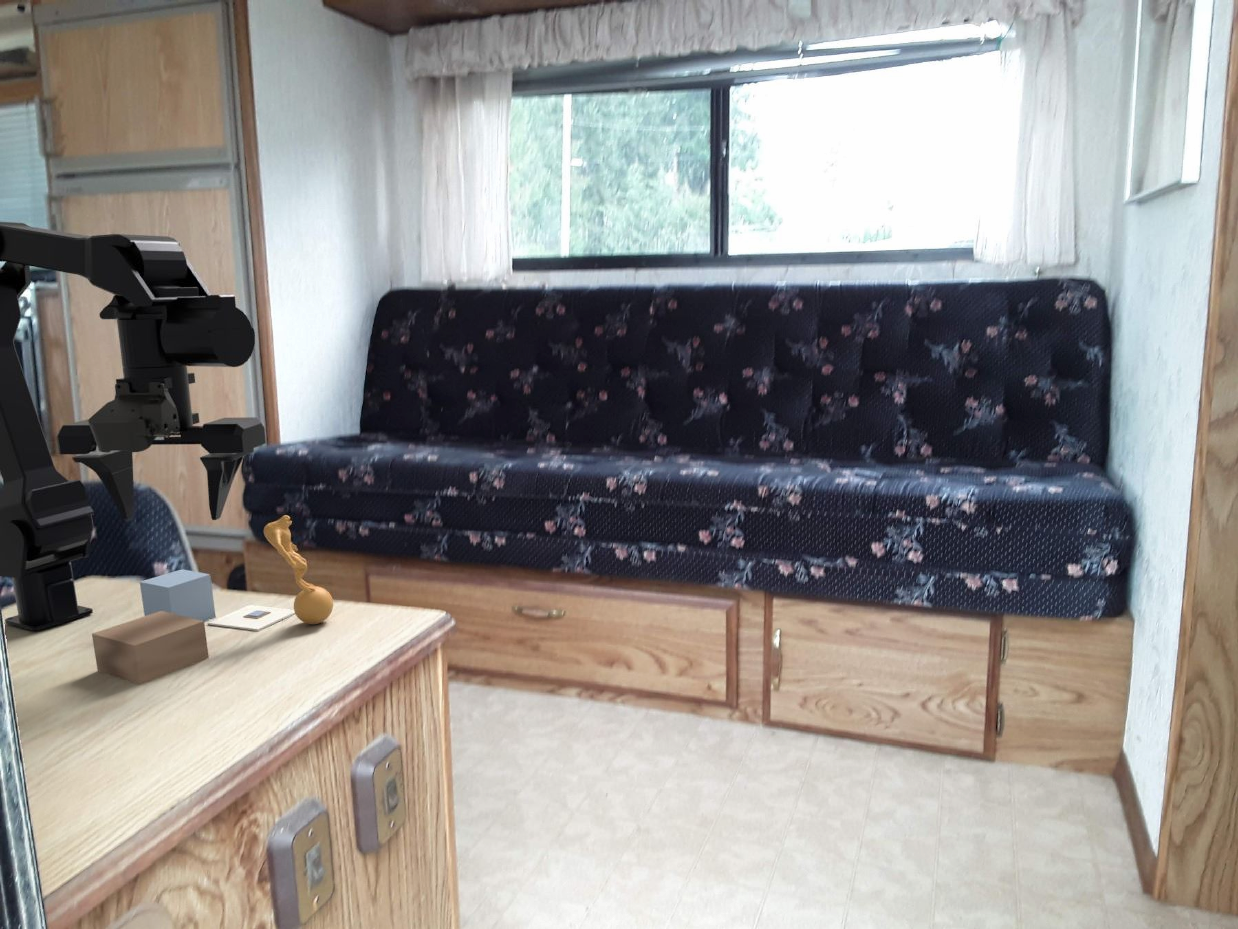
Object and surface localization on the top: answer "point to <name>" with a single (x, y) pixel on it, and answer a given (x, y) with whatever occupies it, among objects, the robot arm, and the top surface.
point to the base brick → (150, 646)
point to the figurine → (299, 575)
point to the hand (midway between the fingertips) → (172, 519)
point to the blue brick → (179, 595)
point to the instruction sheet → (253, 617)
